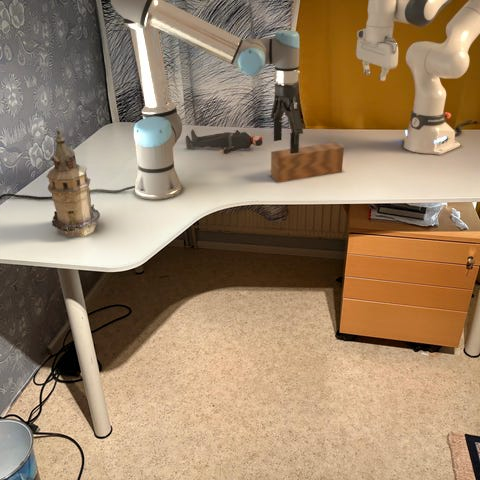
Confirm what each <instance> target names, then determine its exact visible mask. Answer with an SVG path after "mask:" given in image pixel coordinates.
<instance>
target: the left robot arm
mask: <svg viewBox="0 0 480 480" xmlns="http://www.w3.org/2000/svg"><path fill="white" fill-rule="evenodd" d="M109 2H110V4H111V6H112V8H113V9H114V11H115V12H116V13H117V14H118V15H119V16H121V17H122V22H123V24H124V25H125V26H126V27H127V28H129V30H130V34H131V41H132V46H133V50H134V56H135V60H136V66H137V70H138V71H137V72H138V75H139V81H140V86H141V90H142V97H143V101H144V106H143V108H142V109H141V115H142V119H139V120H138V121H136V123H135V124H134V127H133V138H134V144H135V154H136V161H137V175H136V179H135V184H134V185H132V186H127V187H124V188H120V189H102V188H95V189H93V188H92V189H90V191H91V192H90V193H95V192H96V193H97V192H101V193H110V194H111V193H114V194H117V193H122V192H126V191H128V190H133V189H134V193H135V195H136V196H137V197H138V198H141V199H143V200H148V201H161V200H168V199H171V198H174V197H176V196H178V195H179V194H180V193H181V192H182V182H181V180H180V177H179V176H178V173H177V171H176V169H175V161H174V160H175V159H174V158H175V157H174V147H175V145H176V144H177V142H178V141H179V139H180V138H181V135H182V132H183V121H182V118H181V116H180V114H179V113H178V109H177V105H176V104H175V103H174V102H173V101H172V100H171V96H170V94H171V93H170V88H169V83H168V78H167V71H166V66H165V65H166V64H165V60H164V55H163V49H162V44H161V38H160V32H159V31H161V32H163V33H166V34H168V35H170V36H172V37H174V38H176V39H178V40H180V41H182V42H184V43H186V44H189V45H190V46H193V47H195V48H197V49H199V50H200V51H203V52H205V53H207V54H209V55H212V56H213V57H215V58H218V59H220V60H222V61H224V62H226V63H228V64H229V65H232V66H234V67H236V68H238V69H239V70H240V71H241V73H242V74H244V75H246V76H249V77H252V76H256V75H258V74H259V73H261V72H262V70H263V69H264V68H265V67H266V66H265V65H273V64H274V82H275V84H274V100H273V104H272V108H271V113H270V119H272V122H273V142H278V141H279V142H280V141H282V140H283V135H282V134H283V133H282V132H283V122H282V121H283V116H284V115H285V116H286V117H287V121H288V125H289V128H290V131H291V132H290V134H289V135H290V139H289V142H290V143H289V149H290V153H291V154H293V153H299V148H300V134H301V135H302V134H304V129H303V123H302V118H301V111H300V102H299V101H295V97H297V96H298V95H299V77H300V76H299V75H300V33H298V31H296V30H289V29H288V30H287V29H285V30H277V31H276V32H275V34H274V37H272V38H249V37H247V38H240V37H238V36H236V35H234V34H232V33H230V32H228V31H227V30H224V29H222V28H220V27H218V26H216V25H214V24H212V23H209V22H208V21H206V20H204V19H201V18H200V17H197V16H196V15H193V14H191V13H189V12H187V11H185V10H184V9H182V8H179V7H177V6H175V5H173V4H171V3H169V2H167V1H165V0H110V1H109ZM5 197H13V198H21V199H25V198H26V199H34V200H52V195H50V196H37V195H26V194H15V193H2V194H1V195H0V200H1V199H2V198H5ZM13 288H14V292H18V286H17V284H13Z"/></svg>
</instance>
